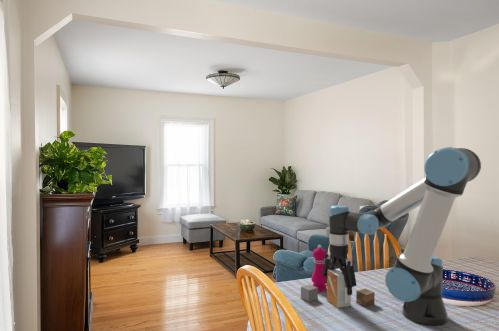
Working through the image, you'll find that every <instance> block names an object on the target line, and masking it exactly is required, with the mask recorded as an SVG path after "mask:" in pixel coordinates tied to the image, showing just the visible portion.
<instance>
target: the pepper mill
mask: <svg viewBox="0 0 499 331" xmlns="http://www.w3.org/2000/svg"><path fill="white" fill-rule="evenodd" d="M325 254H327V252H326V250H325V249H324V248H322V245H321V244H318V245H317V248H315V249H314V250H313V251H312V256H313V262H314V270H313V273H312V275H311V282H312V283H313V284H312V286H315V287H317V288H318V292H325V291H327V286H326V278H325V276H323V275H322V274H323V268H324V263H325Z"/></svg>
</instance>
